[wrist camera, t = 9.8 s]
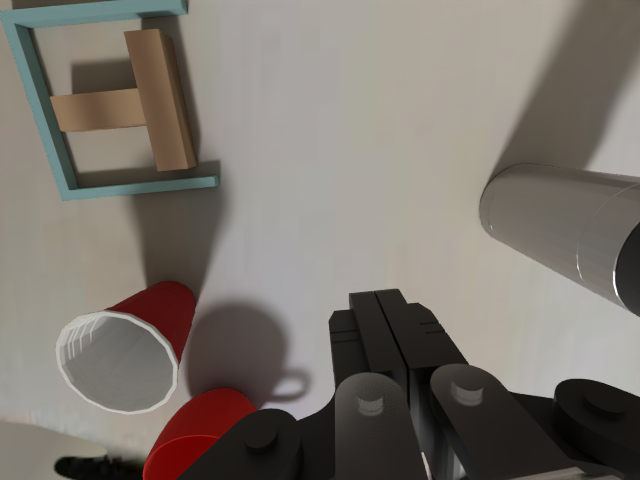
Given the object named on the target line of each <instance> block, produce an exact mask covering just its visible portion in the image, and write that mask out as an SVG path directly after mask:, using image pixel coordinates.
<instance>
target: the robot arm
mask: <svg viewBox="0 0 640 480" xmlns="http://www.w3.org/2000/svg"><path fill="white" fill-rule="evenodd" d="M479 211H480V219H481V223H482V225H483V227H484V229H485V231H486V232H487V233H488V234H489V235H490V236H492V237H493V238H495V239H496V240H498V241H500V242H502V243H504V244H506V245H508V246H509V247H511V248H513V249H515V250H516V251H518V252H520V253H522V254H524V255H526V256H528V257H529V258H531V259H533V260H535V261H537V262H539V263H540V264H542V265H544V266H546V267H548V268H550V269H552V270H553V271H555V272H557V273H559V274H561V275H563V276H565V277H566V278H568V279H570V280H572V281H574V282H576V283H577V284H579V285H581V286H583V287H585V288H587V289H589V290H590V291H592V292H594V293H596V294H598V295H600V296H602V297H604V298H606V299H607V300H609V301H611V302H613V303H615V304H617V305H619V306H620V307H622V308H624V309H626V310H628V311H630V312H632V313H634V314H635V315H637V316H639V317H640V177H635V176H627V175H618V174H610V173H602V172H593V171H585V170H576V169H568V168H560V167H553V166H544V165H535V164H519V165H516V166H512V167H510V168H508V169H506V170H504V171H502V172H501V173H500V174H498V175H497V176H496V177H495V178H494V179H493V180H492V181H491V182H490V183H489V185H488V186H487V188H486V189H485V191H484V193H483V196H482V198H481V202H480V208H479ZM349 305H350V309H349V310H339V311H334V313H333V314H332V316H331V318H330V320H329V331H330V342H331V352H332V363H333V372H334V381H335V393H334V395H333V397H332V399H331V400H330V402H329V403H328V404H327V405H326V406H325V407H324V408H323V409H321V410H320V411H318V412H317V413H314V414H312V415H310V416H308V417H305V418H303V419H300V420H298V421H297V420H296V419H295V418H294V417H293V416H292V415H291V414H289V413H288V412H286V411H283V410H280V409H272V408H270V409H262V410H258V411H255V412H252V413H250V414H248V415H246V416H245V417H243V418H242V419H240V420H239V421H238V422H237V423H236V424H234V425H233V426H232V427H231V428H230V429H229V430H228V431H227V432H226V433H225V434H224V435H223V436H222V437H220V438H219V439H218V440H217V441H216V442H215V443H214V444H213V445H212V446H211V447H210V448H209V449H208V450H207V451H205V452H204V453H203V454H202V455H201V456H200V457H199V458H198V459H197V460H196V461H195V462H194V463H193V464H192V465H190V466H189V467H188V468H187V469H186V470H185V471H184V472H183V473H182V474H181V475H180V476H179V477H178V478H177V479H175V480H640V397H638V396H636V395H633V394H631V393H628V392H626V391H623V390H621V389H618V388H616V387H613V386H610V385H607V384H605V383H601V382H598V381H593V380H588V379H568V380H565V381H562V382H561V383H559V384H558V385H557V386H556V389H555V393H554V399H553V398H546V397H539V396H532V395H525V394H519V393H514V392H510V391H508V390H507V389H506V388H505V387H504V386H503V385H502V383H501V382H500V381H499V380H498V379H497V378H496V377H494V376H493V375H492V374H490V373H488V372H487V371H485V370H483V369H480V368H478V367H475V366H471V365H469V363H468V362H467V361H466V359H465V358H464V356H463V355H462V354H461V352H460V351H459V349H458V348H457V347H456V345H455V344H454V342H453V341H452V340H451V338H450V337H449V335H448V334H447V333H445V330H444V328H443V327H442V326H441V324H439V321H438V320H437V319H436V317H435V316H434V314H433V313H432V312H431V311H430V310H429V309H427V308H426V307H424V306H422V305H421V304H419V303H409V304H407V302H406V300H405V299H404V297H403V295H402V294H401V292H400V290H399V289H387V290H377V291H374V292H373V291H368V292H358V293H349ZM421 452H424V455H425V457H426V460H427V463H428V465H429V475H428V476H427V472H426V469H425V465H424V461H423V458H422V454H421Z"/></svg>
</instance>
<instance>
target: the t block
mask: <svg viewBox="0 0 640 480" xmlns="http://www.w3.org/2000/svg"><path fill="white" fill-rule="evenodd" d="M124 35H125V39H126V43H127V47H128V51H129V55H130V59H131V64H132V68H133V72H134V76H135V80H136V84H137V88H135V89H124V90H114V91H104V92H93V93H83V94H73V95H62V96H52V97H50V99H51V102H52V106H53V109H54V112H55V115H56V118H57V121H58V124H59V127H60V130H61V131H68V132H85V131H96V130H106V129H116V128H126V127H137V126H147V129H148V133H149V137H150V141H151V146H152V150H153V154H154V158H155V162H156V166H157V170H158V171H168V170H178V169H188V168H192V167H196V166H198V164H197V159H196V154H195V149H194V144H193V139H192V134H191V130H190V125H189V120H188V115H187V110H186V105H185V100H184V95H183V91H182V86H181V81H180V76H179V71H178V66H177V61H176V56H175V52H174V47H173V42H172V38H170V37H169V36H168V35H166V34H165V33H164V32H162V31H161V30H160V29H148V30H137V31H127V32H124Z"/></svg>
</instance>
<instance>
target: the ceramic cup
mask: <svg viewBox="0 0 640 480" xmlns="http://www.w3.org/2000/svg"><path fill="white" fill-rule="evenodd" d="M255 411H257V409H256V408H255V407H254V405H253V404H252V403H251V402H250V400H248V399H247V398H246V397H245V396H244V395H243V394H242V393H241V392H239V391H237V390H235V389H231V388H217V389H214V390H211V391H207V392H204V393H202V394H200V395H198V396H196V397H194V398H192V399H191V400H190V401H188V402H187V403H186V404H185V405H183V406H182V407H181V408H180V409H179V410H178V411H177V412H176V414H175V415H174V416H173V417H172V418H171V420H170V421H169V422H168V423H167V425H166V426H165V428H164V429H163V431H162V432H161V434H160V435H159V437H158V439H157V440H156V442H155V444H154V446H153V448H152V449H151V451H150V453H149V455H148V457H147V459H146V462H145V465H144V470H143V480H175V479H177V478H178V477H179V476H180V475H181V474H182V473H183V472H184V471H185V470H186V469H187V468H188V467H189V466H190V465H192V464H193V463H194V462H195V461H196V460H197V459H198V458H199V457H200V456H201V455H202V454H203V453H204V452H205V451H207V450H208V449H209V448H210V447H211V446H212V445H213V444H214V443H215V442H216V441H217V440H218V439H219V438H220V437H222V436H223V435H224V434H225V433H226V432H227V431H228V430H229V429H230V428H231V427H232V426H233V425H234V424H236V423H237V422H238V421H239V420H240V419H242V418H243V417H245V416H246V415H248V414H250V413H252V412H255Z"/></svg>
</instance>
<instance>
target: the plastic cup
mask: <svg viewBox="0 0 640 480" xmlns="http://www.w3.org/2000/svg"><path fill="white" fill-rule="evenodd" d="M194 313H195V298H194V296H193V293H192V292H191V291H190V290H189V289H188V288H187V287H186V286H184V285H182V284H180V283H179V282H174V281H165V282H160V283H157V284H154V285H153V286H151V287H149V288H147V289H146V290H142V291H140V292H139V293H137V294H135V295H133V296H131V297H129V298H127V299H126V300H124V301H122V302H120V303H118V304H116V305H115V306H113V307H110V308H107V309H105V310H103V311H98V312H93V313H88V314H83V315H80V316H79V317H77V318H76V319H74V320H73V321H72V322H70V323H69V324H68V325H66V326H65V327H64V328H63V329H62V332H61V334H60V336H59V339H58V341H57V343H56V355H57V365H58V367H59V369H60V371H61V373H62V375H63V376H64V378H65V380H66V382H67V383H68V385H69V386H70V387H71V388H72V389H73V390H75V391H76V392H77V393H78V394H79V395H80V396H81V397H82V398H83V399H85V400H86V401H88V402H90V403H92V404H94V405H96V406H98V407H100V408H102V409H104V410H106V411H111V412H117V413H123V414H129V415H131V414H138V413H144V412H150V411H152V410H154V409H156V408H157V407H159V406H161V405H162V404H164V403H165V402H167V401H168V399H169V398H170V396H171V394H172V393H173V391H174V389H175V388H176V386H177V383H178V369H179V364H180V362H181V356H182V353H183V350H184V347H185V344H186V341H187V338H188V335H189V332H190V329H191V326H192V320H193V317H194Z"/></svg>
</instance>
